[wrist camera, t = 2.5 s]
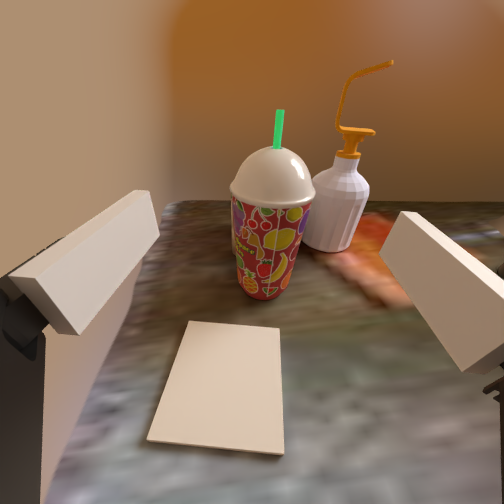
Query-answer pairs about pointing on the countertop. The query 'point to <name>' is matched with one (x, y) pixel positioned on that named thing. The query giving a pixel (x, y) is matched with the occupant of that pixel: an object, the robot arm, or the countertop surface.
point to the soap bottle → (339, 188)
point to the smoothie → (269, 216)
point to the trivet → (224, 390)
